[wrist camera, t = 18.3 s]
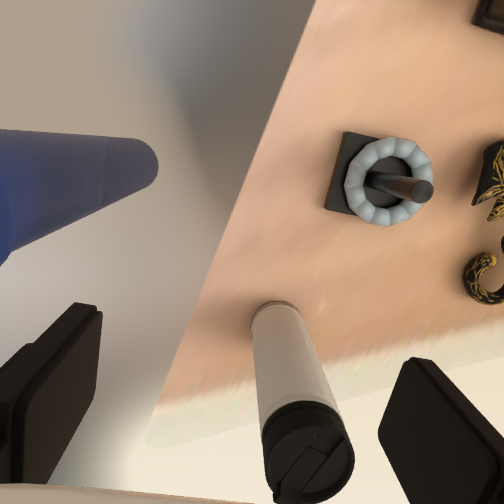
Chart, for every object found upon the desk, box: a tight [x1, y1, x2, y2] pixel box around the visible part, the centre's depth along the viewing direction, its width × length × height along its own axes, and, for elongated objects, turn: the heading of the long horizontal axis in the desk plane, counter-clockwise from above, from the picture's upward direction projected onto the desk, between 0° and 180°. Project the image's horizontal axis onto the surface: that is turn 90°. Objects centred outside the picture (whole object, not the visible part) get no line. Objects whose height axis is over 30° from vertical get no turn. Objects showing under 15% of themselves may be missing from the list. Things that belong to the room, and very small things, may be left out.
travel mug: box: [251, 301, 355, 504], centre depth 32 cm, size 6×7×20 cm
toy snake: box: [463, 140, 504, 305], centre depth 37 cm, size 18×5×10 cm
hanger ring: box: [344, 136, 433, 226], centre depth 36 cm, size 9×9×2 cm
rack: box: [324, 132, 433, 216], centre depth 32 cm, size 8×8×11 cm
